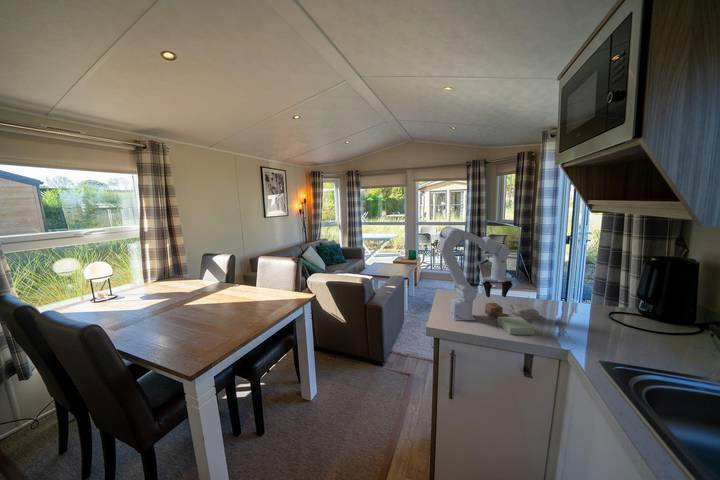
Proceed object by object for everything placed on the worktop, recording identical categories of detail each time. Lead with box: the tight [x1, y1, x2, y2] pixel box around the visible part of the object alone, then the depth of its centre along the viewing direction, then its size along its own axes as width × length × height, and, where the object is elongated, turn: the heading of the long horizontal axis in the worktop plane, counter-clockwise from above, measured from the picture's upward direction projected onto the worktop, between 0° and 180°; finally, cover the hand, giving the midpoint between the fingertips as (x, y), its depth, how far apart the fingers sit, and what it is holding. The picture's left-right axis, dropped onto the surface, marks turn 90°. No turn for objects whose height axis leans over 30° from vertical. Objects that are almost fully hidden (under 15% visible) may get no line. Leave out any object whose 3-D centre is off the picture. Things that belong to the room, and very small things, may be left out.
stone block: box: [509, 302, 540, 321], centre depth 126 cm, size 12×5×10 cm
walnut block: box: [484, 302, 503, 319], centre depth 125 cm, size 6×6×5 cm
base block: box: [497, 316, 536, 336], centre depth 112 cm, size 10×10×3 cm
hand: (495, 296), depth 124 cm, fingers open, 7 cm apart
